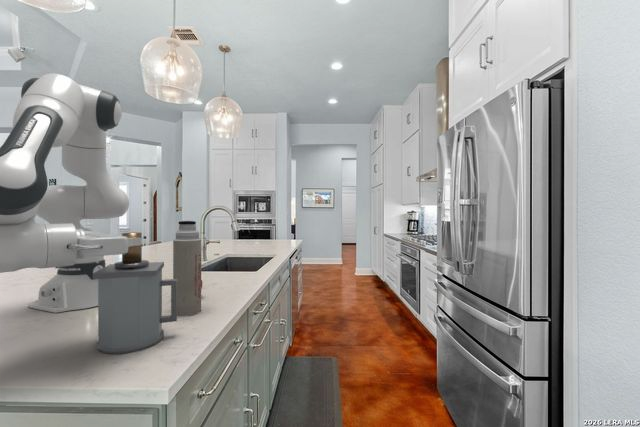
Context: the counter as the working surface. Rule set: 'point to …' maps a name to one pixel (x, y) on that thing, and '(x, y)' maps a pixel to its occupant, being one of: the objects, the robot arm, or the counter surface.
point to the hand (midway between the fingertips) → (136, 240)
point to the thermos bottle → (187, 268)
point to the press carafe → (132, 307)
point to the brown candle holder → (132, 254)
